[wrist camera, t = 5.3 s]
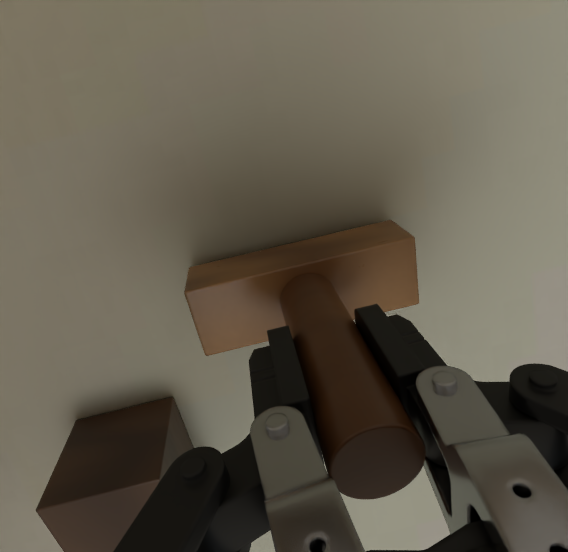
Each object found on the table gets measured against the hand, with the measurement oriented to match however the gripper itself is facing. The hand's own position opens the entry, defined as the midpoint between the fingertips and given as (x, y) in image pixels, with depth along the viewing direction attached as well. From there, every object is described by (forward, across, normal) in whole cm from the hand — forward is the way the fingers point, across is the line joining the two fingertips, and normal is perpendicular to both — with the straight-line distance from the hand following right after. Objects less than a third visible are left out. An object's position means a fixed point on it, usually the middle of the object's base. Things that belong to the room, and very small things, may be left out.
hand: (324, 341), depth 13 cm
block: (+6, +10, +8) cm, 14 cm away
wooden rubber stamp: (+6, 0, 0) cm, 6 cm away
